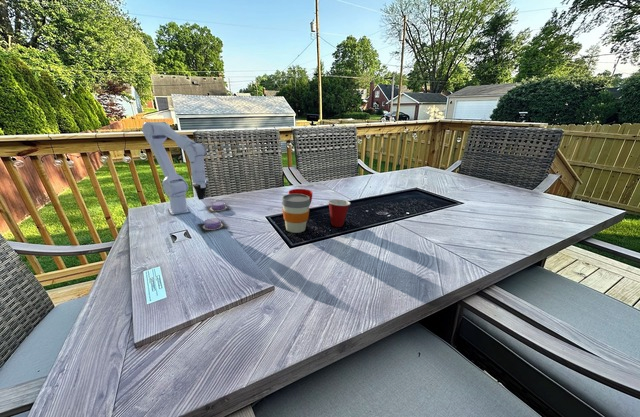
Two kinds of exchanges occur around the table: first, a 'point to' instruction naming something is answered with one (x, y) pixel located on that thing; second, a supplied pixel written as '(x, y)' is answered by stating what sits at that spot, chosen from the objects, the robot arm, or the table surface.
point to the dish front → (212, 223)
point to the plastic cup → (338, 211)
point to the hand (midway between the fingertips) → (201, 199)
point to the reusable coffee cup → (295, 212)
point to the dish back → (218, 206)
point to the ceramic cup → (302, 192)
